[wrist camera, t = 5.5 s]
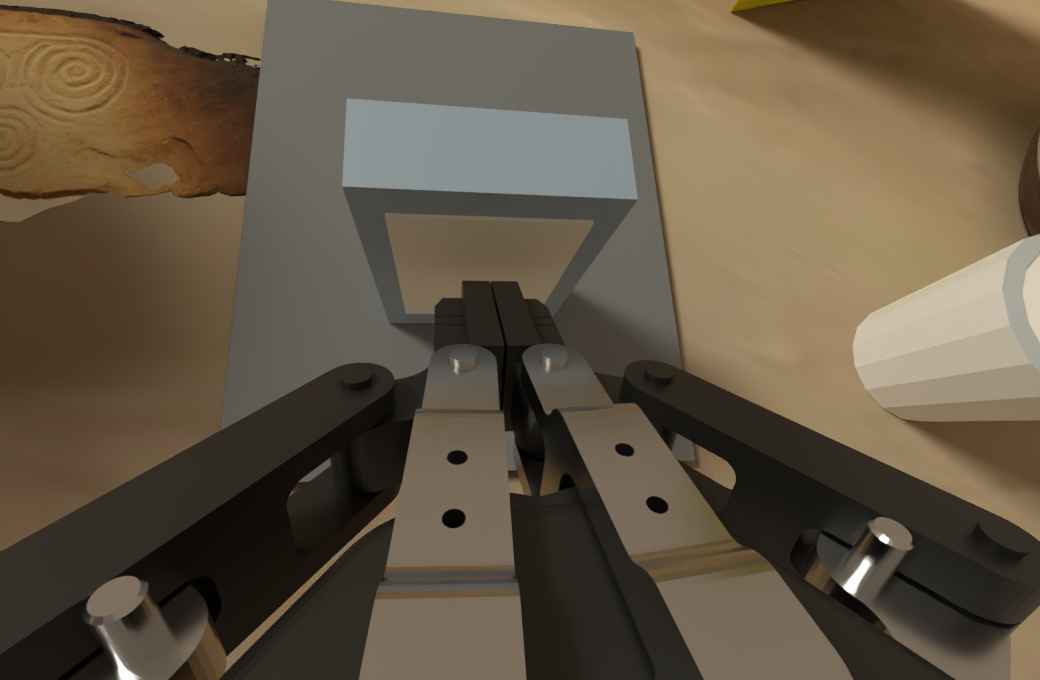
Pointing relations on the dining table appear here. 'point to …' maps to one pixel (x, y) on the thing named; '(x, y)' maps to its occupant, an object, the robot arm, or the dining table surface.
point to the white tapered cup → (960, 344)
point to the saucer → (1031, 187)
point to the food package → (755, 3)
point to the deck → (481, 198)
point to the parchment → (115, 111)
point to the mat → (328, 220)
